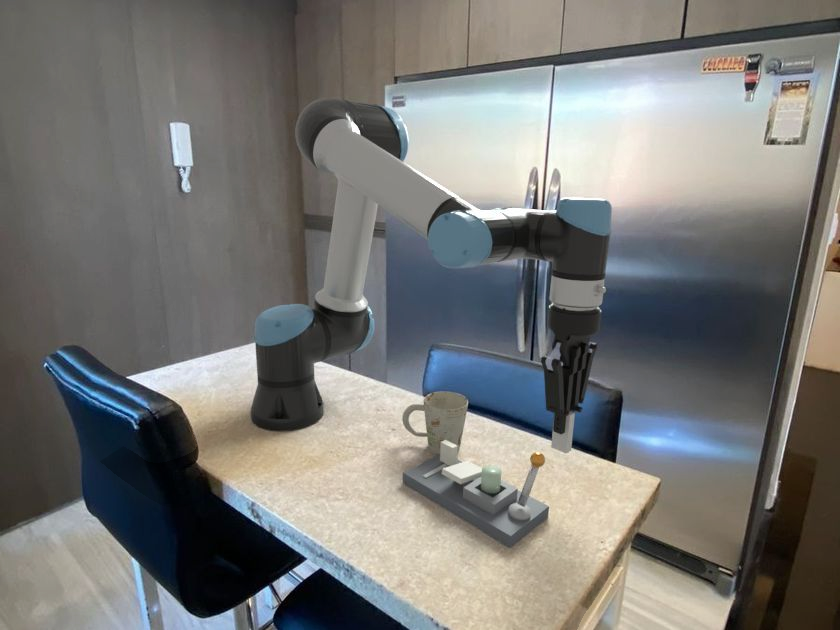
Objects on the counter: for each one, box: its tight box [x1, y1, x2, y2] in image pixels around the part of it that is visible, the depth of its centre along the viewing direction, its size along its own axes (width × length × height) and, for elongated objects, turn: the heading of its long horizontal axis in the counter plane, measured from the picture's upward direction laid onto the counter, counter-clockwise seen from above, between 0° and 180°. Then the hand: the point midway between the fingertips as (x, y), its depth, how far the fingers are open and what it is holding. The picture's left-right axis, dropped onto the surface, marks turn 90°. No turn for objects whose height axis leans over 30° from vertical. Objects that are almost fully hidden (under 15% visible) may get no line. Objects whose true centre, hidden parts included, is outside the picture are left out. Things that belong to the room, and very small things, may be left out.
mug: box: [401, 390, 469, 455], centre depth 99 cm, size 8×13×10 cm, turn 78°
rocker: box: [442, 460, 483, 484], centre depth 84 cm, size 4×6×1 cm, turn 135°
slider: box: [440, 440, 458, 466], centre depth 89 cm, size 3×1×4 cm, turn 45°
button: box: [481, 465, 503, 494], centre depth 80 cm, size 3×3×3 cm
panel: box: [402, 454, 550, 549], centre depth 83 cm, size 22×10×4 cm, turn 45°
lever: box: [517, 451, 546, 507], centre depth 77 cm, size 2×2×8 cm
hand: (561, 448), depth 83 cm, fingers closed
